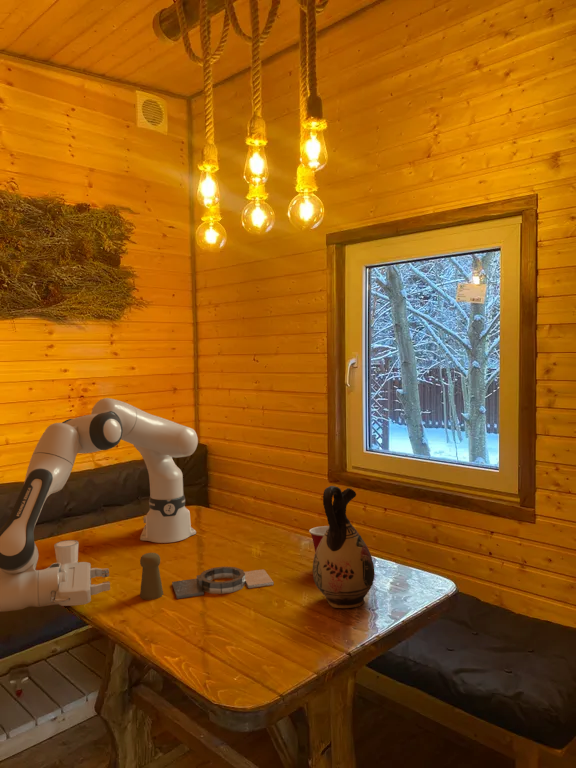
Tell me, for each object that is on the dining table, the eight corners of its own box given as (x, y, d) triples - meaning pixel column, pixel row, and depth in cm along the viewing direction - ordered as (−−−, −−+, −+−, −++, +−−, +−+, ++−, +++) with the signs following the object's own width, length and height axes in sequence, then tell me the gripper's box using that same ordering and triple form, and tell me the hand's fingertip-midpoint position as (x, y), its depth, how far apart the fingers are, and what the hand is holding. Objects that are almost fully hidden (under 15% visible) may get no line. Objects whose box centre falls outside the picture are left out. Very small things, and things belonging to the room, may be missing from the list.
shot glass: (84, 564, 187) (83, 541, 187) (66, 571, 181) (65, 548, 181) (68, 560, 190) (66, 538, 190) (50, 568, 184) (49, 545, 184)
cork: (168, 593, 164) (166, 552, 163) (151, 601, 159) (149, 559, 158) (151, 588, 167) (150, 548, 166) (134, 596, 162) (133, 555, 161)
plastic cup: (344, 562, 184) (343, 522, 183) (350, 575, 173) (350, 533, 172) (308, 563, 183) (307, 524, 182) (312, 577, 172) (311, 535, 171)
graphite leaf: (171, 583, 170) (171, 573, 170) (239, 574, 176) (238, 564, 176) (177, 600, 159) (177, 589, 159) (249, 589, 165) (249, 579, 164)
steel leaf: (197, 579, 172) (197, 575, 172) (262, 570, 178) (262, 566, 178) (204, 596, 161) (204, 591, 161) (274, 586, 167) (274, 581, 167)
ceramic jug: (333, 584, 167) (331, 475, 165) (385, 597, 158) (383, 481, 156) (297, 607, 153) (295, 488, 151) (352, 623, 144) (350, 496, 142)
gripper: (48, 590, 145) (110, 581, 149) (53, 560, 165) (107, 554, 169) (50, 616, 146) (111, 607, 150) (55, 583, 165) (109, 576, 169)
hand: (109, 578), depth 160 cm, fingers open, 8 cm apart
